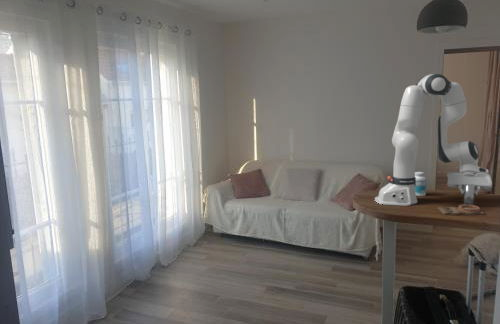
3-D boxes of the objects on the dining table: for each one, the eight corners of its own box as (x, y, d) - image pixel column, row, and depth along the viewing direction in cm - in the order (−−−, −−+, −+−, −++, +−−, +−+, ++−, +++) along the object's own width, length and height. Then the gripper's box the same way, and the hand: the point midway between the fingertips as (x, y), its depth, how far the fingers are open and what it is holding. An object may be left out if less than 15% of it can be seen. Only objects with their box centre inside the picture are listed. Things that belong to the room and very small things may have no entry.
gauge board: (444, 214, 180) (444, 209, 179) (437, 208, 190) (437, 204, 189) (484, 214, 177) (484, 209, 176) (475, 208, 187) (475, 204, 186)
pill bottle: (414, 192, 223) (414, 170, 221) (427, 194, 218) (427, 172, 216) (410, 195, 217) (410, 173, 215) (423, 197, 213) (424, 174, 211)
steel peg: (465, 206, 190) (466, 185, 188) (462, 204, 194) (463, 183, 192) (475, 206, 189) (476, 185, 187) (471, 204, 193) (472, 183, 192)
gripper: (447, 168, 199) (446, 189, 192) (491, 169, 190) (493, 192, 183) (446, 174, 204) (446, 195, 197) (490, 176, 195) (491, 198, 188)
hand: (469, 194), depth 190 cm, fingers closed on steel peg, 4 cm apart
